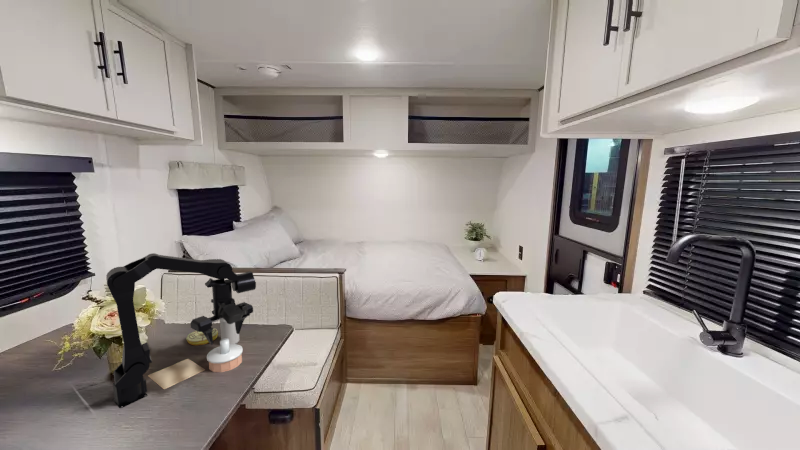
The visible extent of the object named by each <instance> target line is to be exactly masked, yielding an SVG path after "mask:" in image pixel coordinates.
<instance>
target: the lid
mask: <svg viewBox="0 0 800 450" xmlns="http://www.w3.org/2000/svg"><path fill="white" fill-rule="evenodd" d="M243 351H244V349H243V346H242V345H240V344H238V343H237V344H229V339H222V340H221V339H220V340H219V346H217V347H215V348H212V349H211V350H210V351H208V353H207V355H206V360H207V361H208V363H209V362H210V363H225V362H229V361H232V360H234V359H236V358H237V357H239V356H240V355H241V354H243Z"/></svg>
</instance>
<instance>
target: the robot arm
mask: <svg viewBox="0 0 800 450" xmlns="http://www.w3.org/2000/svg"><path fill="white" fill-rule="evenodd" d="M156 269H157V270H166V271H167V270H168V271H177V272H184V273H196V274H201V275H204V276H207V277H210V278H209V279H208V280H207V281H206V282H205V283H204V285H205V286H206V287H207V288H212V289H211V290H212V291H211V292H212V298H211V299H210V303H212V305H213V310H212V311H211V314H212V315H213V316H210V317H207V316H205V315H202V316H198V317H195V318H193V319H192V320H191V322H190V329H192V330H194V331H198V332H203V334H204V335H205V337H206V338H207V340H208V342H209V343H208V344H210V345H211V346H213V345H214V341H213V337H212V330H213V328H214V327H212V326H213V323H215V322H218V321H220V320H221V319H224V320H225V321H226V322H227V323H228V324H233V323H234V322H235V328H236V333H237V334H239V335H240V333H241V329H242V327H243V324H244V322H245V319H247V318H248V317H249V316H250V315H251V314H253V313H254V306H253V305H252V304H250V303H247V302H245V301H243V302H240V303H236V301H235V298H233V292H235V293H236V294H241V293H245V292H251V291H254V290H256V289H257V282H256V279H255V276H254V272H252V271H246V272H243V273H235V272H234V271H233V267H232V265H231V264H230V263H229V262H227V261H226V260H224V259H221V258H213V259H212V258H209V259H194V258H185V257H178V256H177V257H176V256H170V255H162V254H157V253H155V252H154V253H149V254H147V255H145V256H144V257H142V258H139V259H136V260H133V261H132V262H129V263H127V264H126V265H123V266H116V267H114V268H112V269H110V270H109V271H108V272H107V273H106V276H105V277H106V284H107V285H106V286H107V287H108V289H109V292H110V295H111V296H112V298H113V300H114V302H115V304H116V307H117V308H116V309H117V314H118V319H119V326H120V330H121V335H122V339H123V340H122V341H123V349H122V357H121V359H122V360H121V363H120V364H119V365H118V366H117V367H116V368H115V369H114V371H113V377H114V378H113V381H114V382H113V383H112V391H113V398H112V402H114V404H115V405H116V406H117V407H118V408H119V409H123V408H125V407H127V406H129V405H131V404H133V403H136V402H138V401H140V400H142V399H143V398H146V397H148V396H149V395H148V393H147V392H148V387H147V386H148V385H147V379H146V378H145V376H144V375H145V373H147V371H148V370H150V364H152V363H153V359H152V357H151V349H150V347H149V346H150V345H149V343H148V342H144V343H142V342H141V338H140V332H139V326H138V320H137V316H136V309H135V303H134V296H135V287H136V282H138V281H140V280H142V279H144V278H145V277H146V276H148V275H149V274H150V273H152V272H153V271H155V270H156Z"/></svg>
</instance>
